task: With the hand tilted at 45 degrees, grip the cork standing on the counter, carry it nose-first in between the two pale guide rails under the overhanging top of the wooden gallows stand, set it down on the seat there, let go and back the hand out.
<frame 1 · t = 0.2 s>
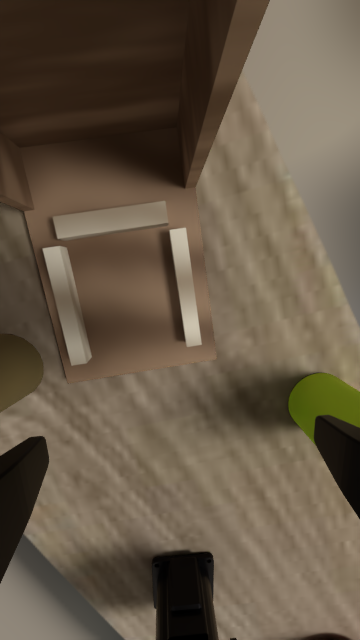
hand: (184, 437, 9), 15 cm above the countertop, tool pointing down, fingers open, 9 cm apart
wooden gallows stand: (131, 301, 22), on the countertop
cork: (9, 366, 23), on the countertop
soap dispenser: (311, 403, 25), on the countertop
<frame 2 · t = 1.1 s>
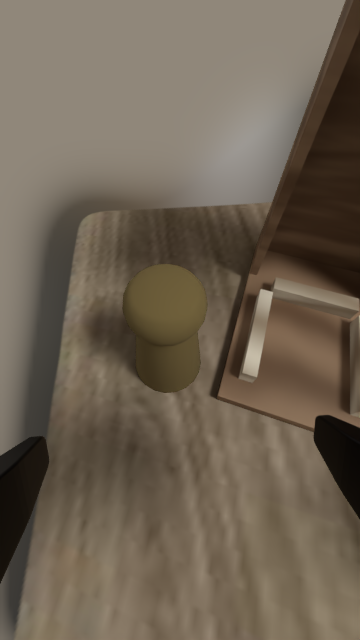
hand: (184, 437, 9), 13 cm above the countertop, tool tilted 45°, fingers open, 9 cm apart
wooden gallows stand: (299, 360, 24), on the countertop
cork: (168, 361, 24), on the countertop
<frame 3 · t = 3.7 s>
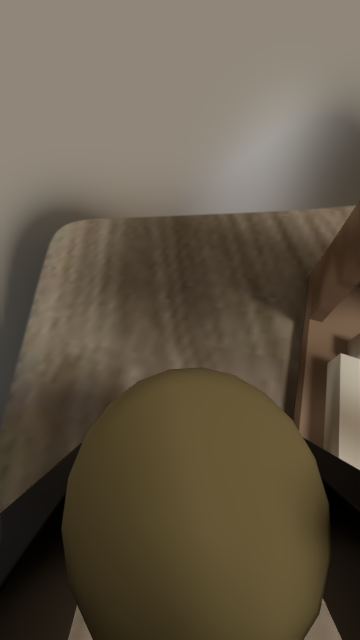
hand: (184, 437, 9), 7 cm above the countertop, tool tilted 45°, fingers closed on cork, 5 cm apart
cork: (182, 484, 14), on the countertop, touching gripper
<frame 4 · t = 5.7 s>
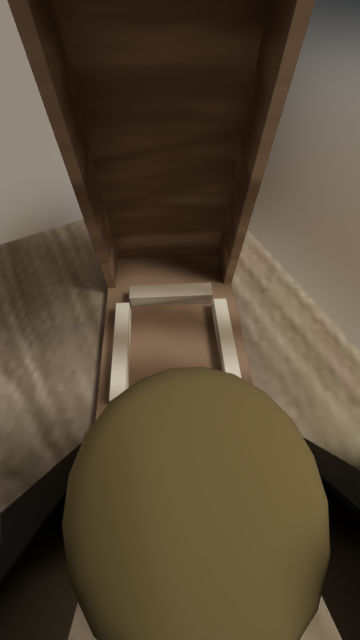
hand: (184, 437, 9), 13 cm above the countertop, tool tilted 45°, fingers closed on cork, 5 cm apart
wooden gallows stand: (174, 360, 24), on the countertop
cork: (180, 483, 14), point 6 cm above the countertop, touching gripper
when the fingers open (8 cm above the countertop, at t = 8.0 s): cork stays where it is, resting on wooden gallows stand.
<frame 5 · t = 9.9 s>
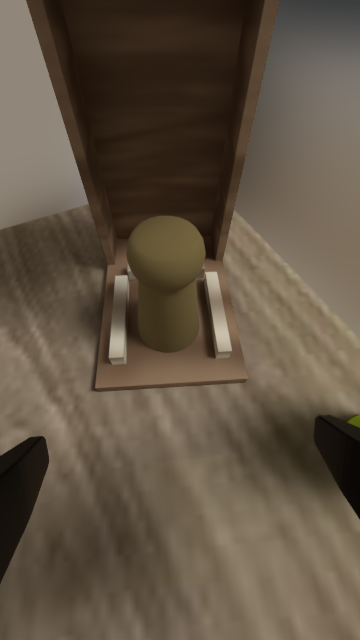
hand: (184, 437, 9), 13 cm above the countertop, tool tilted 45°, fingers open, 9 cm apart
wooden gallows stand: (169, 328, 26), on the countertop
cork: (168, 325, 25), point 1 cm above the countertop, touching wooden gallows stand
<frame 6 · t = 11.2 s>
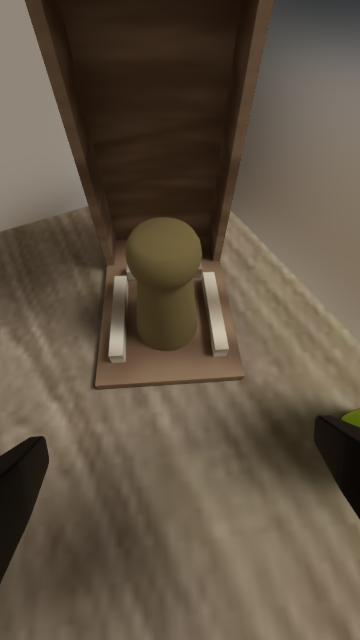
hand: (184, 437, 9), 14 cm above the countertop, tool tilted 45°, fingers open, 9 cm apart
wooden gallows stand: (167, 327, 26), on the countertop
cork: (167, 324, 26), point 1 cm above the countertop, touching wooden gallows stand
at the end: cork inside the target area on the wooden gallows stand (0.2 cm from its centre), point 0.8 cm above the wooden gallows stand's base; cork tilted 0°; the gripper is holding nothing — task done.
